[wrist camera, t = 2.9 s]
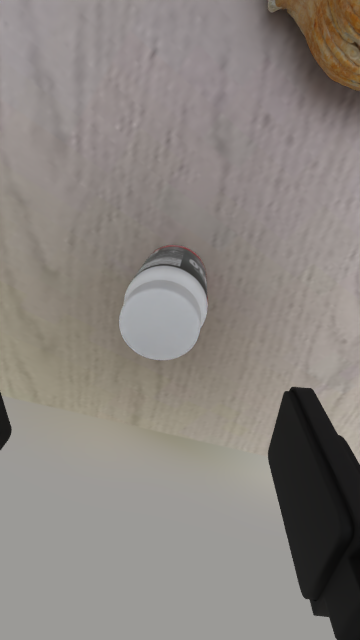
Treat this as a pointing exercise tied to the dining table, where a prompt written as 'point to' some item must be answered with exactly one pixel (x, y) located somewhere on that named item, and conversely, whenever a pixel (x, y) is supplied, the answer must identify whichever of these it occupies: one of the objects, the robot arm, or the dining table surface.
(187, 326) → the pill bottle
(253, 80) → the dining table surface
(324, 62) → the fossil
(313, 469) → the robot arm
